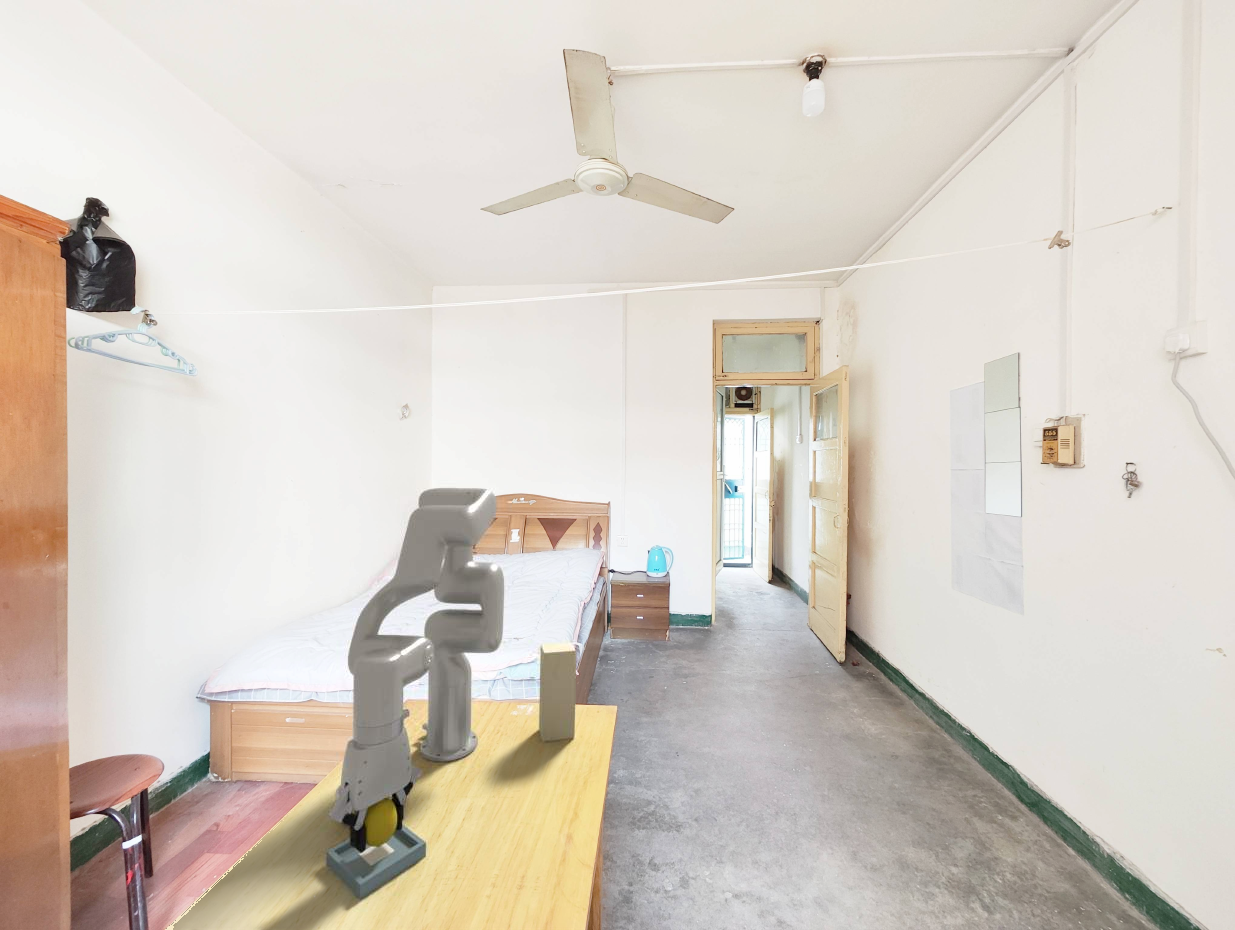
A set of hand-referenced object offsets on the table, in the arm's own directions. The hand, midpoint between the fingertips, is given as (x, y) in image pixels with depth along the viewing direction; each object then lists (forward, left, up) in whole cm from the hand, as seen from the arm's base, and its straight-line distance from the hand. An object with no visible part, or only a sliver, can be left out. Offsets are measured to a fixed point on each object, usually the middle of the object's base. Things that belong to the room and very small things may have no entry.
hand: (377, 836), depth 85 cm
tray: (0, 0, -4) cm, 4 cm away
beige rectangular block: (-5, +48, -4) cm, 48 cm away
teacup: (-12, +4, -4) cm, 13 cm away
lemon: (0, 0, -2) cm, 2 cm away
